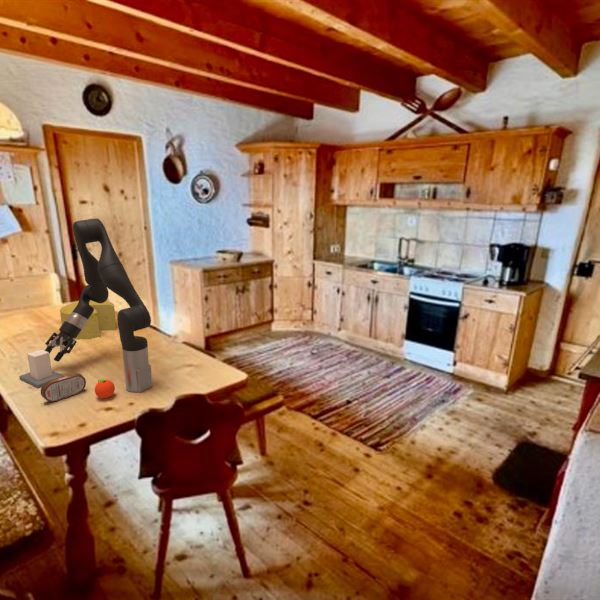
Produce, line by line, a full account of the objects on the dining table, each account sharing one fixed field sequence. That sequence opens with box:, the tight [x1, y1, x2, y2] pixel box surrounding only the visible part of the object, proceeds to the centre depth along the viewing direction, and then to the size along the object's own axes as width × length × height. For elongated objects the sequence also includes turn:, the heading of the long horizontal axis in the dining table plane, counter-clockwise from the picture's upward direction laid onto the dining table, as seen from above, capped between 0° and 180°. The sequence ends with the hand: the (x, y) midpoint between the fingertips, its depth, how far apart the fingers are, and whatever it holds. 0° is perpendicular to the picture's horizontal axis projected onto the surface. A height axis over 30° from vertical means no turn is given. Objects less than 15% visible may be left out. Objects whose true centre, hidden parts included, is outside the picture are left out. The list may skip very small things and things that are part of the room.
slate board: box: [19, 370, 65, 389], centre depth 161 cm, size 14×10×2 cm
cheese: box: [59, 300, 117, 340], centre depth 215 cm, size 26×26×15 cm
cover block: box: [27, 349, 53, 380], centre depth 160 cm, size 6×6×10 cm
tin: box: [40, 372, 87, 403], centre depth 147 cm, size 15×3×8 cm, turn 141°
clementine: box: [94, 378, 116, 399], centre depth 149 cm, size 8×7×7 cm
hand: (50, 358), depth 163 cm, fingers open, 8 cm apart
